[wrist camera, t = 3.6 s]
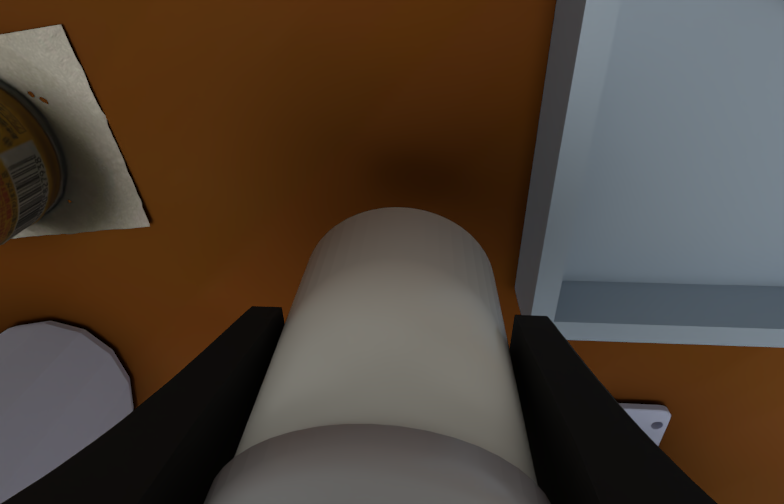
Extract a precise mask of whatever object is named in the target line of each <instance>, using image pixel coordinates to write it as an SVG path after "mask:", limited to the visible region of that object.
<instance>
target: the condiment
mask: <svg viewBox="0 0 784 504" xmlns="http://www.w3.org/2000/svg"><path fill="white" fill-rule="evenodd" d="M27 91H31V92H32V93H33V94H34V95H35V97H34V98H33V97H31V96H30V95H29V94H28V92H27ZM39 97H43V98H45V99H46V100H47V101H48V103H49V104H46V103H44V102H42V101H41V100H40V99H39ZM67 200H71V201H72V202H71V203H69V202H68V201H67ZM148 226H150V224H149V222H148V219H147V217H146V214H145V212H144V210H143V208H142V202H141V199H140V197H139V196H138V193H137V191H136V188H135V186H134V184H133V181H132V179H131V177H130V175H129V173H128V171H127V168H126V165H125V162H124V160H123V157H122V155H121V153H120V151H119V148H118V146H117V144H116V142H115V140H114V138H113V136H112V133H111V131H110V129H109V127H108V125H107V119H106V116H105V114H104V113H103V112H102V111H101V109H100V107H99V105H98V104H97V102H96V99H95V98H94V96H93V93H92V91H91V89H90V87H89V84H88V81H87V79H86V76H85V74H84V71H83V69H82V67H81V65H80V64H79V62H78V61H77V59H76V57H75V54H74V52H73V50H72V48H71V46H70V44H69V42H68V39H67V37H66V35H65V33H64V30H63V28H62V26H61V25H54V26H48V27H42V28H37V29H31V30H25V31H19V32H13V33H7V34H1V35H0V245H2V244H4V243H5V242H7V241H8V240H9V239H11V238H13V239H14V238H20V237H28V236H42V235H57V234H58V235H59V234H75V233H80V232H90V231H91V232H93V231H99V230H109V229H130V228H137V227H148Z"/></svg>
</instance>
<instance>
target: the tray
mask: <svg viewBox="0 0 784 504" xmlns="http://www.w3.org/2000/svg"><path fill="white" fill-rule="evenodd" d="M515 292H516V296H517V300H518V304H519V308H520V312H521V315H534V316H548V317H549V318H550V320H551V321H552V322H553V323H554V324H555V326H556V327H557V328H558V330H559V331H560V332H561V334H562V335H563V336H564V337H565V339H566V340H586V341H614V342H642V343H671V344H699V345H728V346H756V347H784V0H557V1H556V8H555V15H554V22H553V29H552V36H551V42H550V49H549V56H548V63H547V70H546V77H545V84H544V90H543V97H542V104H541V111H540V118H539V125H538V131H537V138H536V145H535V152H534V159H533V166H532V172H531V179H530V186H529V193H528V200H527V207H526V213H525V220H524V227H523V234H522V241H521V248H520V255H519V261H518V268H517V275H516V282H515Z"/></svg>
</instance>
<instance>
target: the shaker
mask: <svg viewBox="0 0 784 504" xmlns="http://www.w3.org/2000/svg"><path fill="white" fill-rule="evenodd" d="M204 504H551V503H550V501H549V499H548V498H547V496H546V494H545V493H544V492H543V491H542V490H541V489H540V487H539V486H538V485H537V480H536V475H535V470H534V465H533V461H532V456H531V451H530V446H529V442H528V437H527V432H526V427H525V422H524V418H523V413H522V408H521V403H520V399H519V394H518V389H517V384H516V379H515V375H514V370H513V365H512V360H511V356H510V351H509V346H508V341H507V336H506V332H505V327H504V322H503V317H502V313H501V308H500V303H499V298H498V293H497V289H496V284H495V279H494V274H493V271H492V267H491V264H490V261H489V259H488V257H487V255H486V253H485V252H484V250H483V249H482V247H481V246H480V244H479V243H478V242H477V241H476V240H475V239H474V238H473V237H472V236H471V235H470V234H469V233H468V232H467V231H465V230H464V229H463V228H462V227H460V226H459V225H457V224H456V223H454V222H452V221H451V220H449V219H446V218H444V217H442V216H440V215H437V214H434V213H431V212H428V211H425V210H419V209H414V208H403V207H390V208H380V209H374V210H369V211H366V212H363V213H359V214H357V215H354V216H352V217H350V218H348V219H346V220H344V221H342V222H341V223H339V224H338V225H336V226H335V227H334V228H332V229H331V230H330V231H329V232H328V233H326V235H325V236H324V237H323V238H322V239H321V240H320V241H319V243H318V244H317V246H316V247H315V249H314V250H313V252H312V255H311V257H310V259H309V262H308V264H307V267H306V270H305V272H304V275H303V277H302V280H301V283H300V285H299V288H298V291H297V293H296V296H295V298H294V301H293V304H292V306H291V309H290V312H289V314H288V317H287V320H286V322H285V325H284V327H283V330H282V333H281V335H280V338H279V341H278V343H277V346H276V348H275V351H274V354H273V356H272V359H271V362H270V364H269V367H268V369H267V372H266V375H265V377H264V380H263V383H262V385H261V388H260V390H259V393H258V396H257V398H256V401H255V404H254V406H253V409H252V412H251V414H250V417H249V419H248V422H247V425H246V427H245V430H244V433H243V435H242V438H241V440H240V443H239V446H238V448H237V451H236V454H235V456H234V458H233V459H232V460H231V461H230V462H228V463H227V464H226V465H225V466H224V467H223V468H222V469H221V471H220V472H219V473H218V475H217V476H216V477H215V478H214V480H213V482H212V485H211V487H210V489H209V491H208V494H207V496H206V499H205V501H204Z"/></svg>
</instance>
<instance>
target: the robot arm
mask: <svg viewBox="0 0 784 504" xmlns="http://www.w3.org/2000/svg"><path fill="white" fill-rule="evenodd" d="M284 325H285V324H284V318H283V313H282V307H254V306H252V307H251V308H250V309H249V310H247V311H246V312H245V313H244V314H243V315H242V316H241V317H240V318H239V319H238V320H236V321H235V322H234V323H233V324H232V325H231V326H230V327H229V328H228V329H227V330H225V331H224V332H223V333H222V334H221V335H220V336H219V337H218V338H217V339H216V340H215V341H214V342H212V343H211V344H210V345H209V346H208V347H207V348H206V349H205V350H204V351H203V352H202V353H200V354H199V355H198V356H197V357H196V358H195V359H194V360H193V361H192V362H190V363H189V364H188V365H187V366H186V367H185V368H184V369H182V370H181V371H180V372H179V373H178V374H177V375H176V376H175V377H173V378H172V379H171V380H170V381H169V382H168V383H166V384H165V385H164V386H163V387H162V388H160V389H159V390H158V391H157V392H155V393H154V394H153V395H152V396H151V397H149V398H148V399H147V400H146V401H145V402H143V403H142V404H141V405H140V406H138V407H137V408H136V409H135V410H134V411H132V412H131V413H130V414H129V415H127V416H126V417H125V418H124V419H123V420H121V421H120V422H119V423H117V424H116V425H115V426H113V427H112V428H111V429H110V430H108V431H107V432H106V433H104V434H103V435H101V436H100V437H99V438H97V439H96V440H95V441H93V442H92V443H91V444H89V445H88V446H86V447H85V448H84V449H82V450H81V451H79V452H78V453H77V454H75V455H74V456H72V457H71V458H69V459H68V460H67V461H65V462H64V463H62V464H61V465H60V466H58V467H57V468H55V469H54V470H52V471H51V472H49V473H48V474H46V475H45V476H43V477H42V478H40V479H39V480H37V481H36V482H34V483H32V484H31V485H29V486H28V487H26V488H25V489H23V490H21V491H20V492H18V493H17V494H15V495H14V496H12V497H11V498H9V499H7V500H6V501H4V502H3V503H1V504H204V501H205V499H206V496H207V494H208V491H209V489H210V487H211V485H212V482H213V480H214V478H215V477H216V476H217V475H218V473H219V472H220V471H221V469H222V468H223V467H224V466H225V465H226V464H227V463H228V462H230V461H231V460H232V459H233V458H234V456H235V454H236V451H237V448H238V446H239V443H240V440H241V438H242V435H243V433H244V430H245V427H246V425H247V422H248V419H249V417H250V414H251V412H252V409H253V406H254V404H255V401H256V398H257V396H258V393H259V390H260V388H261V385H262V383H263V380H264V377H265V375H266V372H267V369H268V367H269V364H270V362H271V359H272V356H273V354H274V351H275V348H276V346H277V343H278V341H279V338H280V335H281V333H282V330H283V327H284ZM509 351H510V356H511V360H512V365H513V370H514V375H515V379H516V384H517V389H518V394H519V399H520V403H521V408H522V413H523V418H524V422H525V427H526V432H527V437H528V442H529V446H530V451H531V456H532V461H533V465H534V470H535V475H536V480H537V485H538V486H539V487H540V489H541V490H542V491H543V492H544V493H545V494H546V496H547V498H548V499H549V501H550V503H551V504H717V503H716V502H715V501H714V500H713V499H712V498H711V497H709V496H708V495H707V494H706V493H705V492H704V491H703V490H702V489H701V488H700V487H699V486H698V485H697V484H695V483H694V482H693V481H692V480H691V479H690V478H689V477H688V476H687V475H686V474H685V473H684V472H683V471H682V470H681V469H680V468H679V467H678V466H677V465H676V464H675V463H674V462H673V461H672V460H671V459H670V458H669V457H668V456H667V455H666V454H665V453H664V452H663V451H662V450H661V449H660V448H659V447H658V446H659V444H660V441H661V439H662V437H663V434H664V432H665V430H666V428H667V425H668V423H669V421H670V418H671V414H670V412H669V410H668V409H667V407H665V406H663V405H652V404H630V403H618V402H617V401H616V400H615V399H614V397H613V396H612V395H611V394H610V393H609V392H608V390H607V389H606V388H605V387H604V386H603V385H602V384H601V382H600V381H599V380H598V379H597V378H596V376H595V375H594V374H593V373H592V372H591V370H590V369H589V368H588V367H587V365H586V364H585V363H584V362H583V360H582V359H581V358H580V357H579V355H578V354H577V353H576V352H575V350H574V349H573V348H572V346H571V345H570V344H569V343H568V341H567V340H566V339H565V337H564V336H563V335H562V334H561V332H560V331H559V330H558V328H557V327H556V326H555V324H554V323H553V322H552V321H551V320H550V318H549V317H548V316H534V315H515V317H514V324H513V331H512V337H511V344H510V350H509Z"/></svg>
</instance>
